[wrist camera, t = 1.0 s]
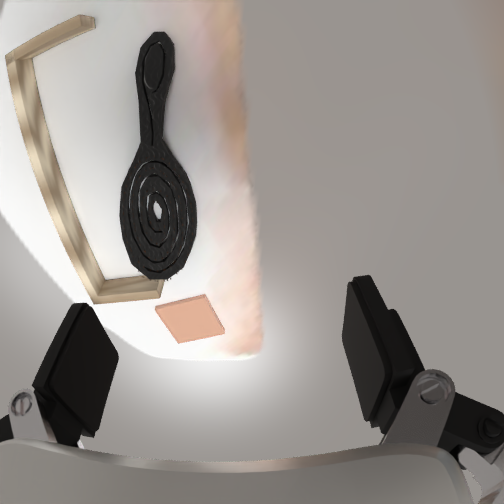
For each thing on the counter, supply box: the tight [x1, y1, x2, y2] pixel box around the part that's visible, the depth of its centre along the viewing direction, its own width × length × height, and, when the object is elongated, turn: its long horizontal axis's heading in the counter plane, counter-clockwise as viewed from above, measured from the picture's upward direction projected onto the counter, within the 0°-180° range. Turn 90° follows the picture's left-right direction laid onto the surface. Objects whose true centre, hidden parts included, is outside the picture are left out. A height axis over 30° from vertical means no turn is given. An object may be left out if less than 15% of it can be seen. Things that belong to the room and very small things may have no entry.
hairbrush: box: [119, 32, 197, 282], centre depth 27 cm, size 8×4×25 cm
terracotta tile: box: [155, 294, 225, 343], centre depth 40 cm, size 7×7×1 cm
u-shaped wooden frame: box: [5, 15, 164, 304], centre depth 27 cm, size 30×9×3 cm, turn 7°
